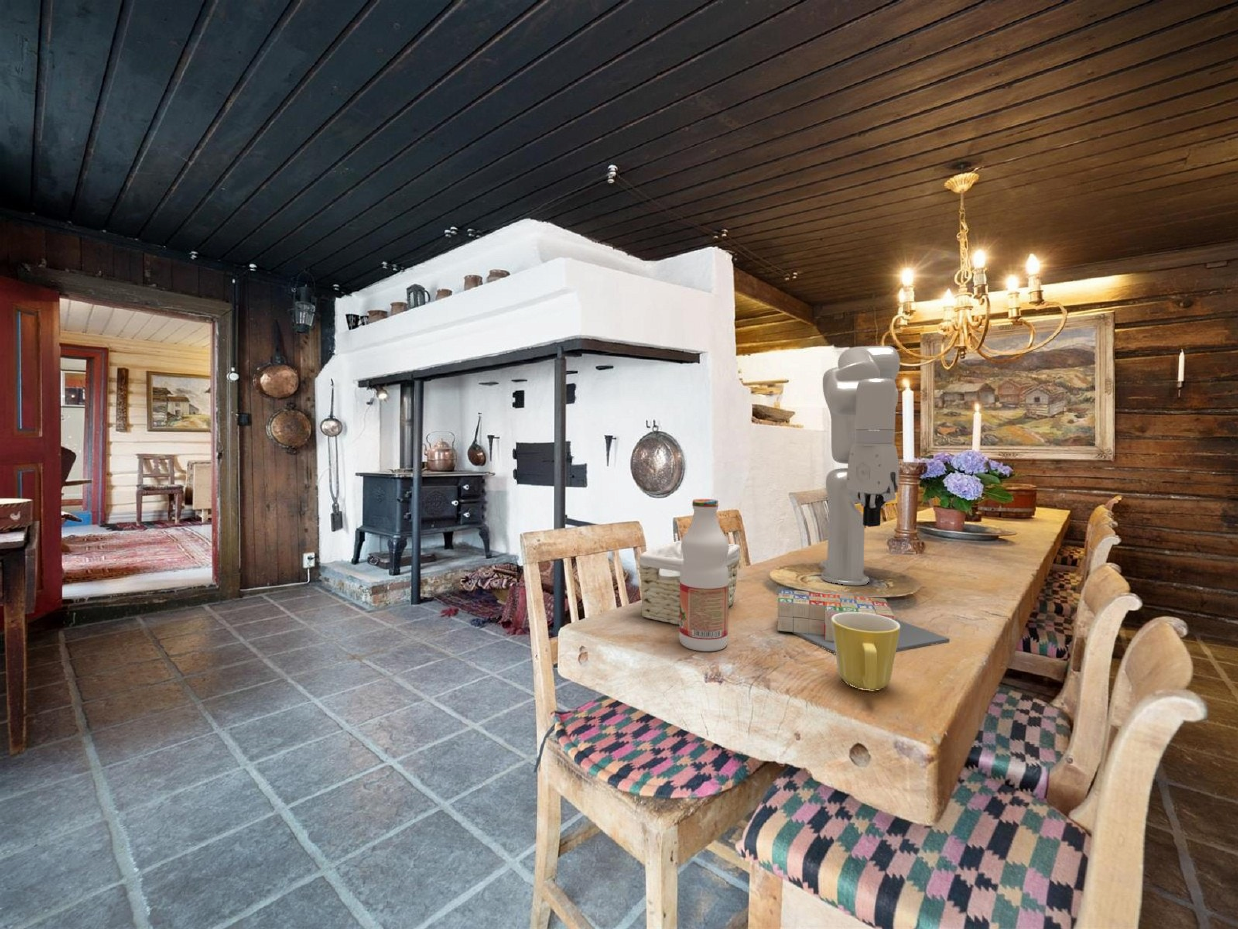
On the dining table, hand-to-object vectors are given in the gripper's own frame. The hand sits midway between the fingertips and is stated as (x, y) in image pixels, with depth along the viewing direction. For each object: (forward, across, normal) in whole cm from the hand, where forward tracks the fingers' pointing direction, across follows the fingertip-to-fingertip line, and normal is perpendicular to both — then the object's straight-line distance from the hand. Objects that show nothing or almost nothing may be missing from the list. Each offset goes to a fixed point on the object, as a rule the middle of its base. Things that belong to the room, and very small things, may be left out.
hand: (871, 525), depth 117 cm
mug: (+21, +22, -24) cm, 39 cm away
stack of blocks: (+18, -4, -7) cm, 20 cm away
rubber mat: (+22, +5, -5) cm, 23 cm away
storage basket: (+22, -22, -31) cm, 44 cm away
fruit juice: (+21, -4, -38) cm, 44 cm away
